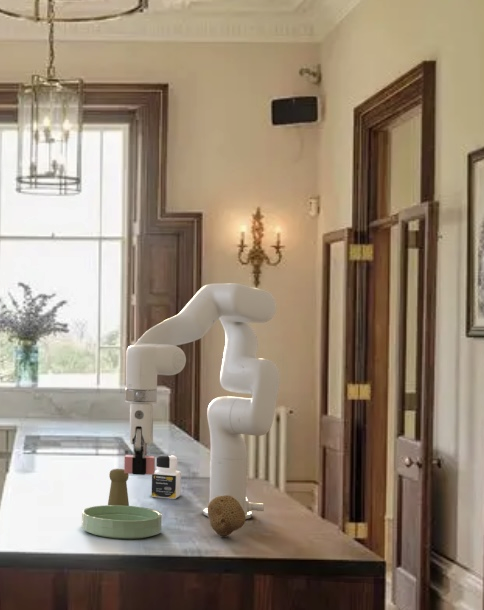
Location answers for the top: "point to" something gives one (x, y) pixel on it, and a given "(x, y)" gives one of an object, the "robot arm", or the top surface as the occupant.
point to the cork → (118, 488)
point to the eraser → (149, 464)
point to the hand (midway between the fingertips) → (139, 472)
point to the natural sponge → (225, 515)
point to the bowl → (121, 521)
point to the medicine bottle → (166, 478)
